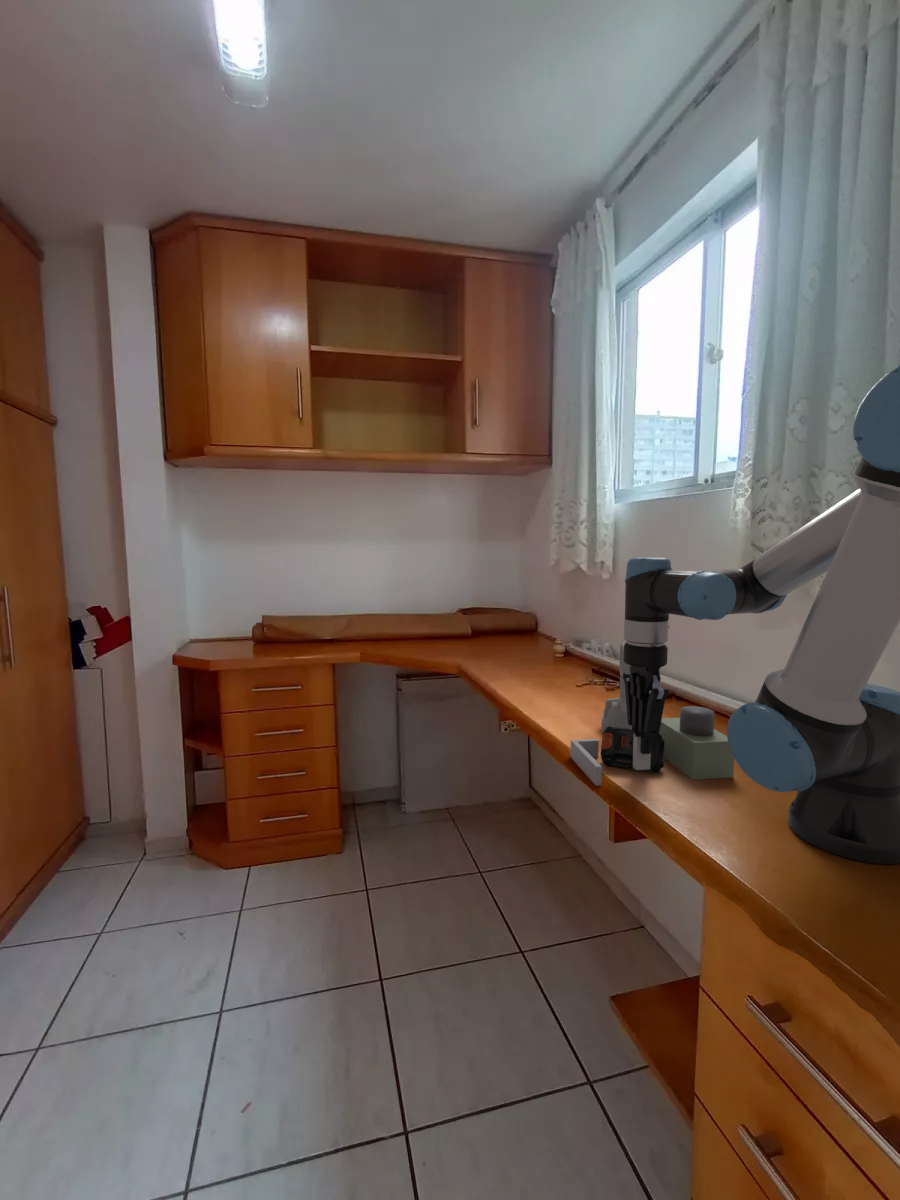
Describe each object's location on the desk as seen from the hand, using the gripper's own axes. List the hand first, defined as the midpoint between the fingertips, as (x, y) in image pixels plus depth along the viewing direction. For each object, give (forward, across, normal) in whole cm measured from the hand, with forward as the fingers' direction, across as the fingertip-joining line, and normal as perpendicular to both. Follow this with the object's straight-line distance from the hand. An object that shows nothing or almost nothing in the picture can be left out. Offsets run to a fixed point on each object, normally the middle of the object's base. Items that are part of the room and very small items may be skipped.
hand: (641, 767), depth 102 cm
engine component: (+2, +24, -8) cm, 26 cm away
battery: (+2, +5, 0) cm, 5 cm away
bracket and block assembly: (+2, +4, -4) cm, 6 cm away
